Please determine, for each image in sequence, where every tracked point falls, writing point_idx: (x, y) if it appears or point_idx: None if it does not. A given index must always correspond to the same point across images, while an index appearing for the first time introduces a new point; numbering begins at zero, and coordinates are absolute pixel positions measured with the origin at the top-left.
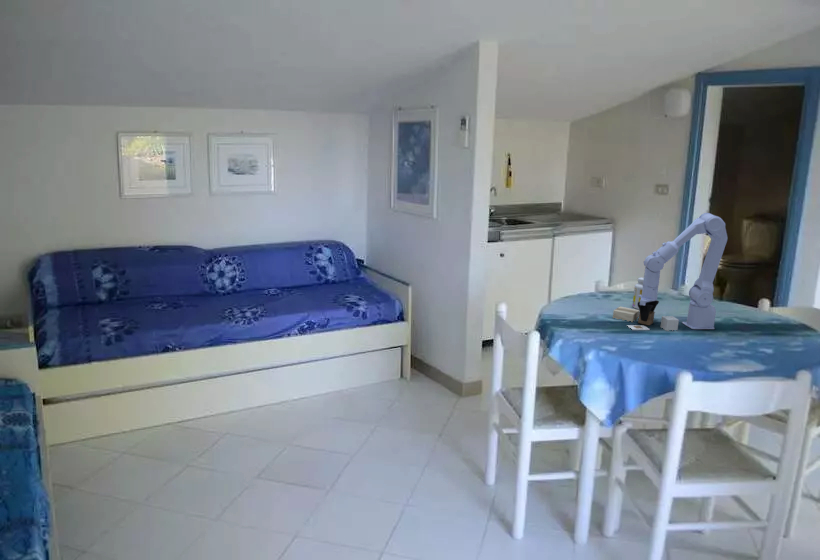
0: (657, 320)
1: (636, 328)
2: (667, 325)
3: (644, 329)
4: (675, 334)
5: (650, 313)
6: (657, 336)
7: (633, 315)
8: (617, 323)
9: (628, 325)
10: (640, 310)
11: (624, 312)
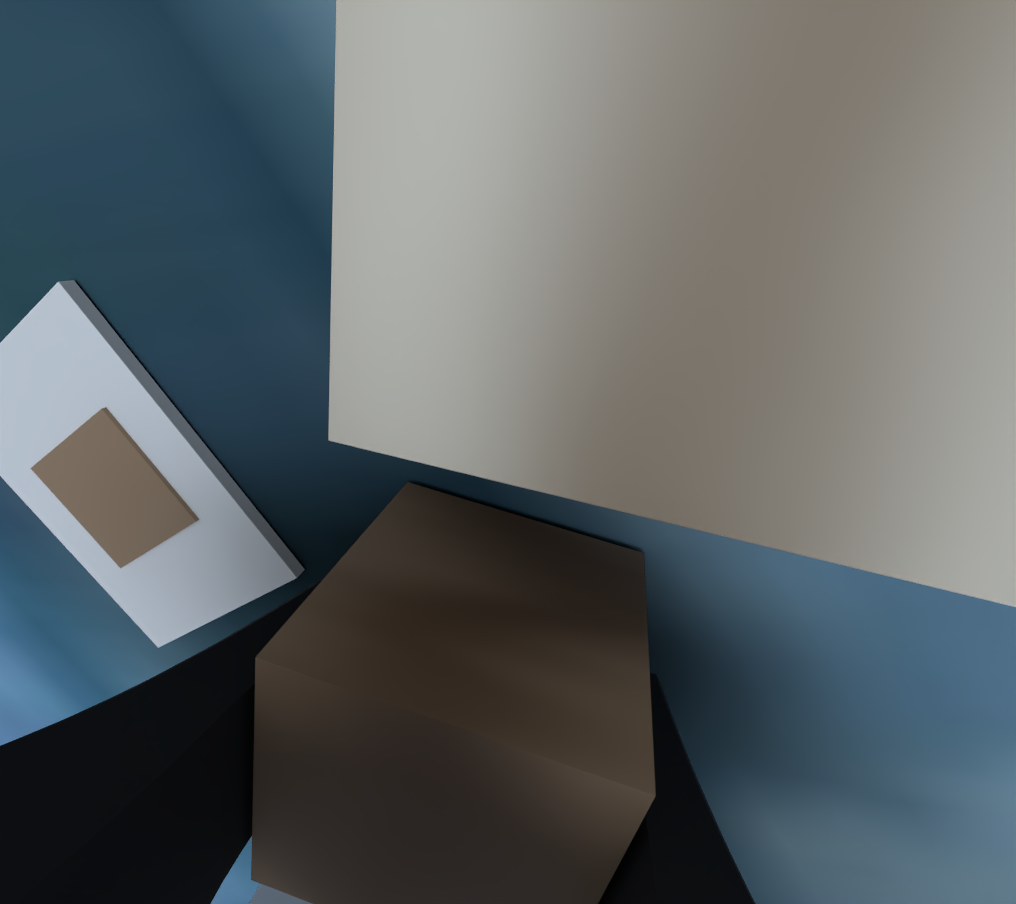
0: (821, 796)
1: (33, 468)
2: (258, 901)
3: (99, 579)
4: (238, 864)
5: (316, 885)
6: (12, 696)
7: (346, 427)
8: (84, 37)
9: (71, 320)
10: (45, 746)
11: (375, 75)
